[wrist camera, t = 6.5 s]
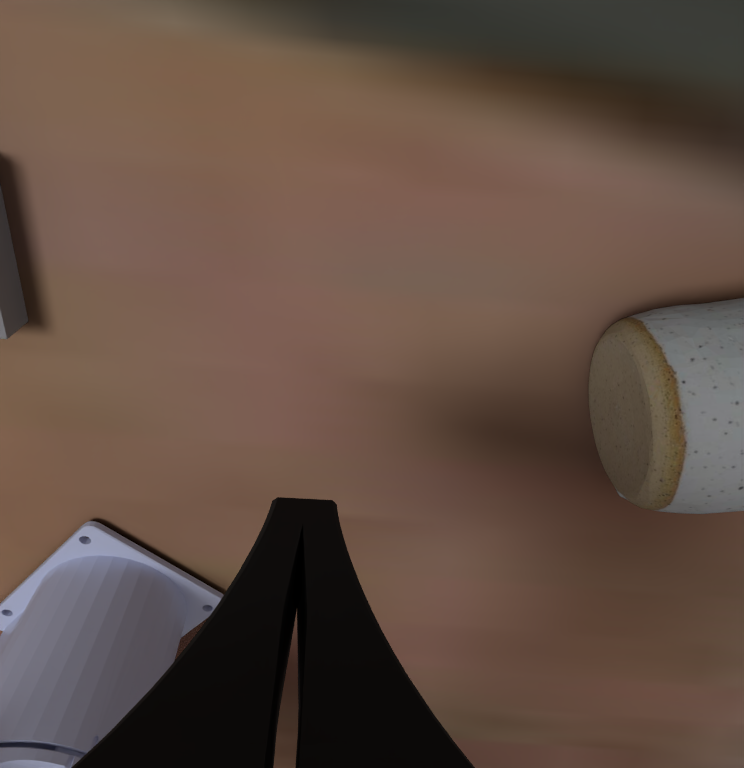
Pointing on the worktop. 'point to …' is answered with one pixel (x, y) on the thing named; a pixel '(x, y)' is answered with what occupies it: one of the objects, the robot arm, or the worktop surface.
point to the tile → (9, 282)
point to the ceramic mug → (673, 407)
